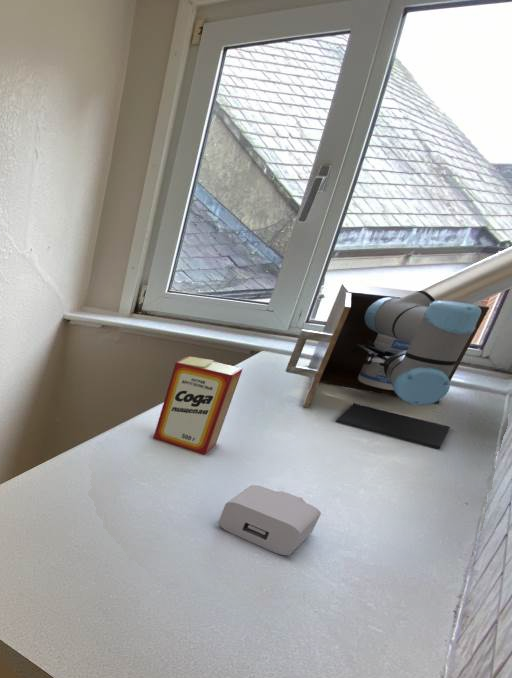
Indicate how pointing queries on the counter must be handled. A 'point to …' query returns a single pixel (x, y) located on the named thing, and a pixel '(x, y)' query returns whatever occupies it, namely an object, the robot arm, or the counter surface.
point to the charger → (269, 518)
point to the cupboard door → (325, 354)
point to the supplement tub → (375, 372)
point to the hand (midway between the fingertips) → (393, 349)
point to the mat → (395, 425)
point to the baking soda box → (196, 403)
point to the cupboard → (362, 337)
